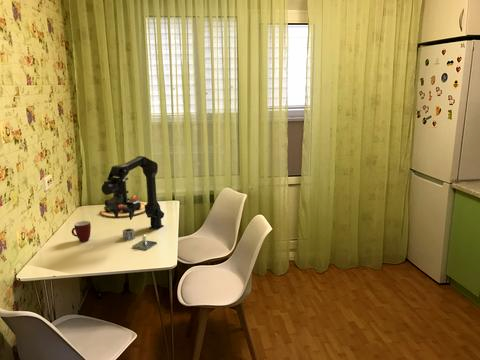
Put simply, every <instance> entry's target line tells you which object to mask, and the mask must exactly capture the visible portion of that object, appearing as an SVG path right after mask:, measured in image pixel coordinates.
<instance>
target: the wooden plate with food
mask: <svg viewBox="0 0 480 360" xmlns="http://www.w3.org/2000/svg"><path fill="white" fill-rule="evenodd" d="M132 200H138V199H137V196H136V195H131V196H130V197H129V201H128V202H130V201H132ZM139 202H140V206H138V207H137V208H136V210H135V212H134V215H133V217H136V216H140V215H143V214H144V213H145V214H146V212H145V205H146V204H147V202H145V201H139ZM127 208H128V207H127V205H118V218H116V217H115V215H114V213H113V211H112V210H111V208H109V207H107V206H105V205H104V206H103V208H102V209H101V210H100V215H101V216H102V217H104V218H108V219H109V218H110V219H126V218H130V217H129V211H128V210H127Z"/></svg>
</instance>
